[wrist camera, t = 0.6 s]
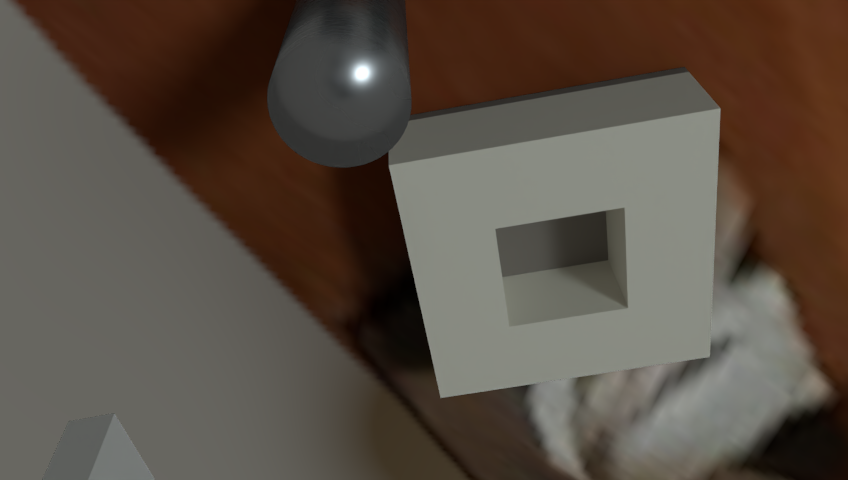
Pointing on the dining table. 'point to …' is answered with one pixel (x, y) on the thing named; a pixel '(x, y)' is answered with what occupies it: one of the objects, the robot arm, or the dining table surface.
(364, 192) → the dining table surface
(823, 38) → the dining table surface
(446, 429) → the dining table surface
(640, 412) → the dining table surface
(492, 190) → the bore block
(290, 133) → the pin
